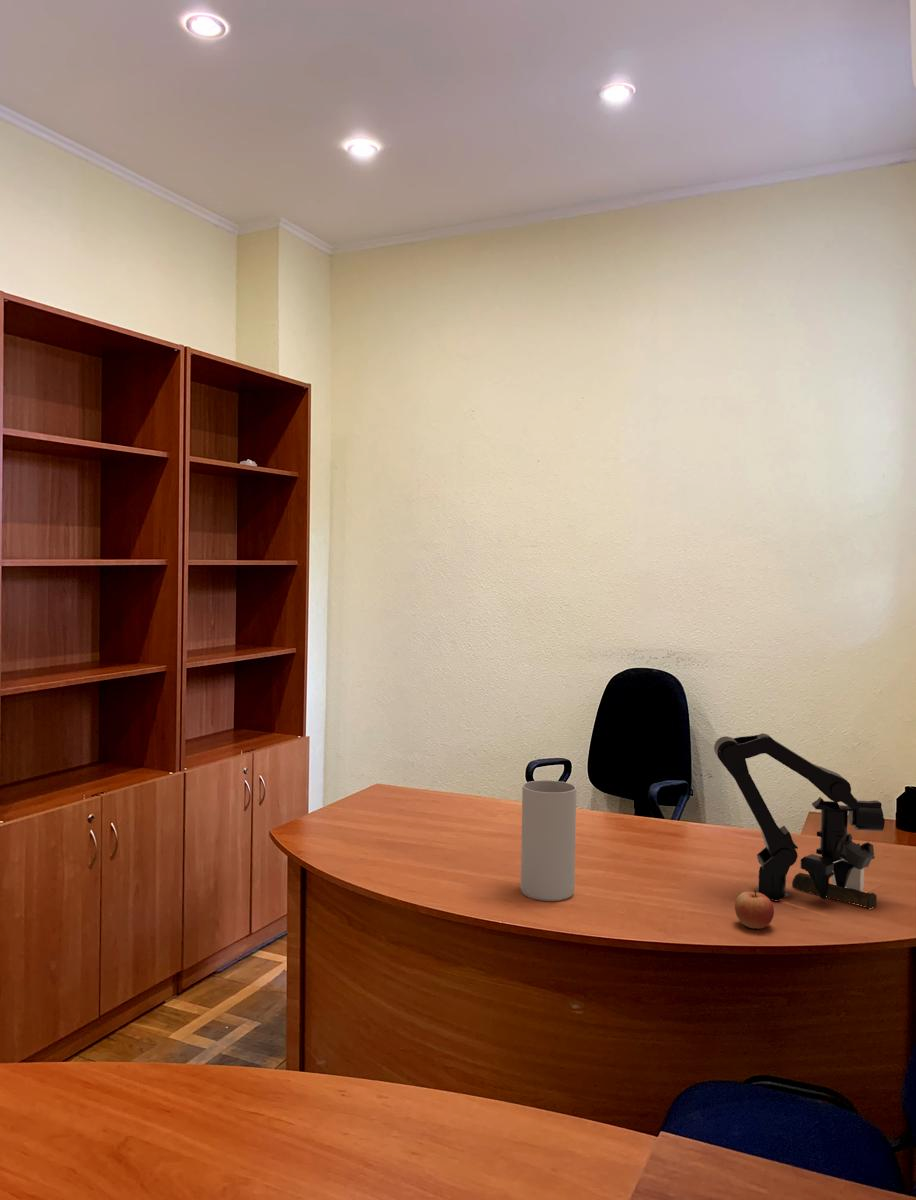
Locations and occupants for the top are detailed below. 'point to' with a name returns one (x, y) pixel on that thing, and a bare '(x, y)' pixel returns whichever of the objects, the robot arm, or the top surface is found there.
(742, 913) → the apple
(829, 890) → the hand tool
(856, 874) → the tile
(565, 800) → the cylinder vase
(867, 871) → the top surface
